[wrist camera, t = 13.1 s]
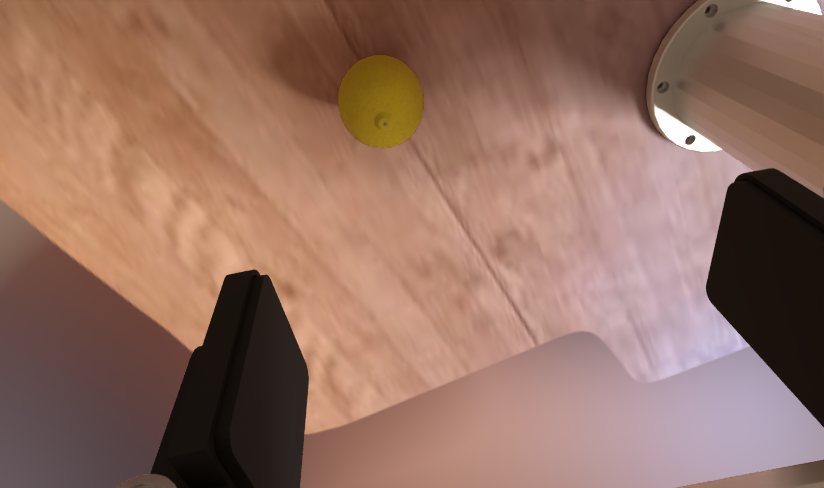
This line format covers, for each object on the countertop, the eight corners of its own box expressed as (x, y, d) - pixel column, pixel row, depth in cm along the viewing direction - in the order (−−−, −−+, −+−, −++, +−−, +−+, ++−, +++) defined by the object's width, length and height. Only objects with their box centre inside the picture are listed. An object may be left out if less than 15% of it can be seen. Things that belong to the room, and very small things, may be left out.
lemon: (348, 126, 38) (348, 174, 31) (330, 50, 34) (326, 85, 28) (421, 113, 38) (437, 158, 31) (410, 35, 34) (425, 67, 28)
